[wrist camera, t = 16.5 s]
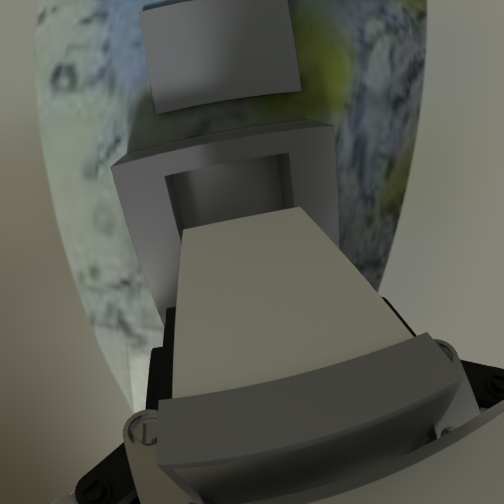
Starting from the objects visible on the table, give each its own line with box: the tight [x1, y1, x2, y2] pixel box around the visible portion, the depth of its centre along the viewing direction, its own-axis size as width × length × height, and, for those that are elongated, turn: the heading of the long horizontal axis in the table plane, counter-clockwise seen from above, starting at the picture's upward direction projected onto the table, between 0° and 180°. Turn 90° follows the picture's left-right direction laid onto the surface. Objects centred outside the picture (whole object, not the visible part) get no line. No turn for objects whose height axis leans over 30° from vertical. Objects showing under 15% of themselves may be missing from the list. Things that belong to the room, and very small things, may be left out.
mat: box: [139, 0, 301, 114], centre depth 16 cm, size 7×9×1 cm
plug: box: [157, 207, 464, 504], centre depth 10 cm, size 5×5×10 cm
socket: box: [111, 120, 339, 327], centre depth 20 cm, size 14×12×4 cm
